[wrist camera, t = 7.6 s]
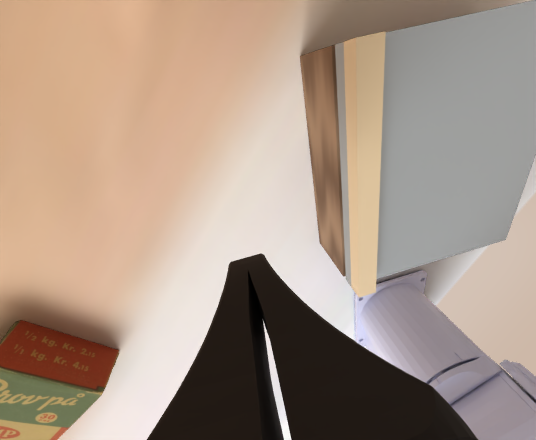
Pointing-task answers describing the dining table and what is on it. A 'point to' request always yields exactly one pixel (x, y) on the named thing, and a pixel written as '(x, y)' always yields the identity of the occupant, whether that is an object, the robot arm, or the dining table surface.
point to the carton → (48, 380)
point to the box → (325, 148)
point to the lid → (434, 138)
